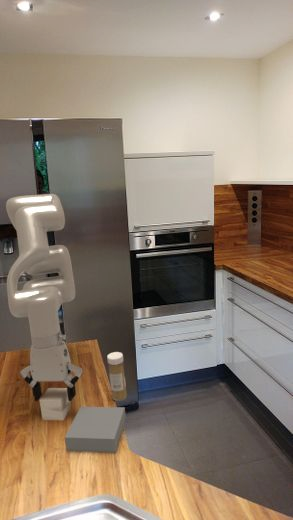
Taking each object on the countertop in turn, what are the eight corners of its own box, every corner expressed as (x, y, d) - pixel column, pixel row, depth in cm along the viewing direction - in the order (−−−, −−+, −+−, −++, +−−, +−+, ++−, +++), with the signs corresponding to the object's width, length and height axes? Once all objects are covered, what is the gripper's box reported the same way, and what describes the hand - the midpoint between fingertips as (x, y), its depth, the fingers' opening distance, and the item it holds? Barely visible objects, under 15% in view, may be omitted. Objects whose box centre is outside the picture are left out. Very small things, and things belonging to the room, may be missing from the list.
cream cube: (51, 406, 102) (48, 387, 101) (71, 407, 101) (68, 388, 100) (42, 420, 96) (39, 400, 95) (63, 420, 96) (60, 400, 94)
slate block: (82, 419, 96) (80, 406, 95) (125, 420, 94) (124, 407, 93) (66, 452, 84) (64, 437, 83) (115, 454, 82) (114, 439, 82)
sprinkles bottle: (129, 394, 105) (125, 352, 103) (122, 402, 101) (118, 359, 99) (115, 391, 107) (111, 350, 104) (108, 400, 103) (104, 357, 100)
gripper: (82, 333, 97) (89, 390, 99) (23, 334, 99) (31, 391, 102) (72, 344, 89) (80, 406, 92) (9, 346, 92) (19, 406, 95)
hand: (55, 398), depth 97 cm, fingers open, 9 cm apart
